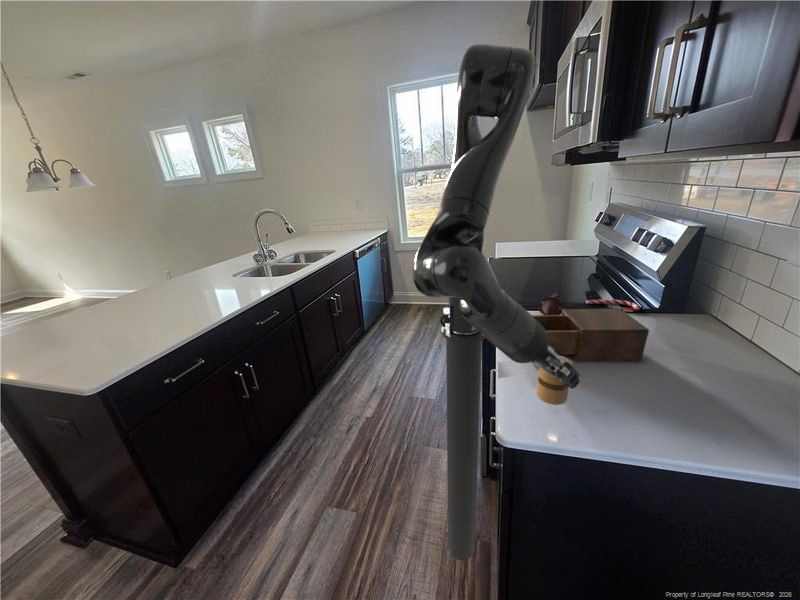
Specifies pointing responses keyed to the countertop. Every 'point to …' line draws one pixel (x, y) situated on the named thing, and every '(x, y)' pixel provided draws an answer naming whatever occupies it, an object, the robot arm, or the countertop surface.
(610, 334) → the cabinet
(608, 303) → the candy cane
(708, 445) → the countertop surface
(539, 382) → the cookie roll
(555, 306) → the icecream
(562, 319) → the drawer
